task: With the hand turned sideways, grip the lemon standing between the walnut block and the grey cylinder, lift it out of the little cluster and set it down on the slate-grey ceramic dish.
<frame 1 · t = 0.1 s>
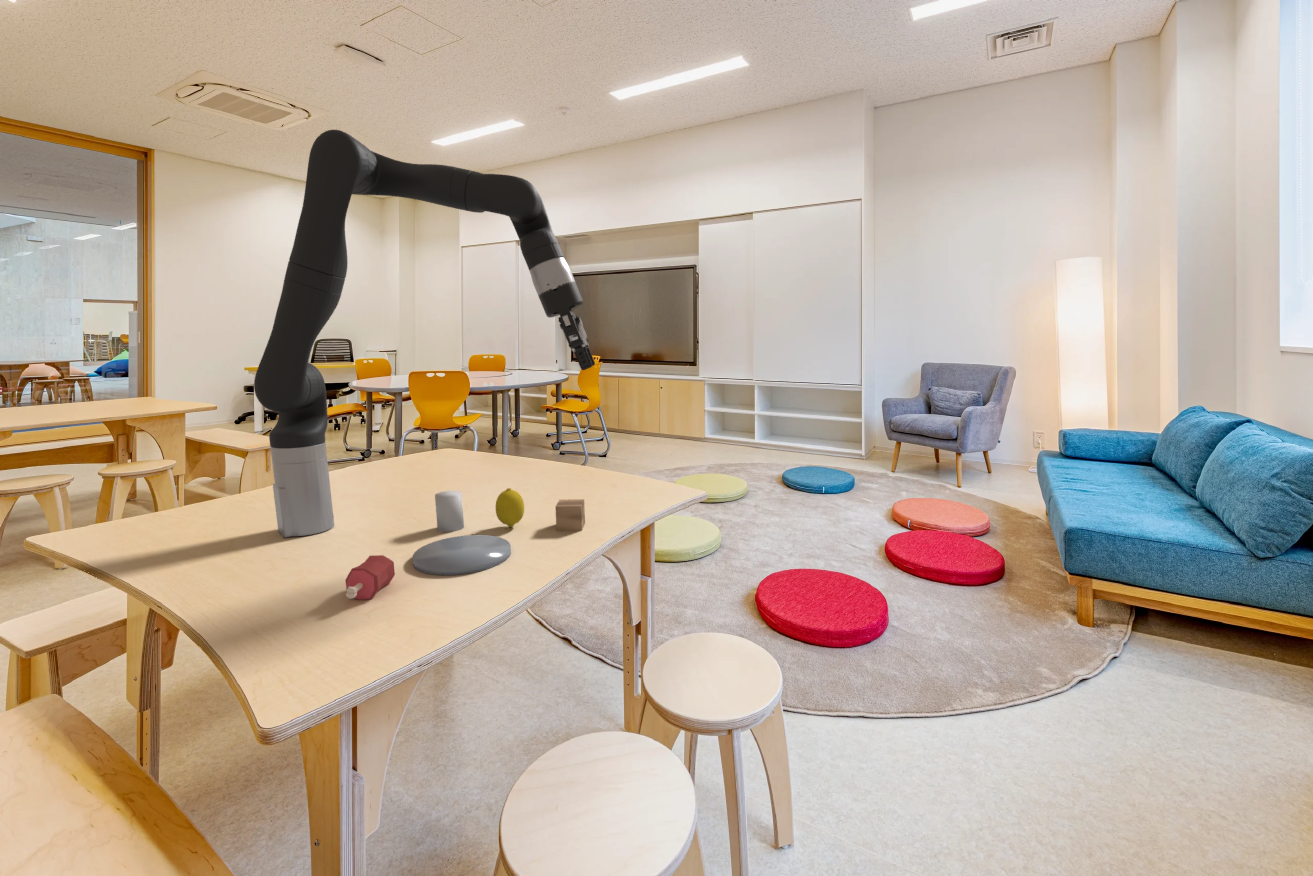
hand: (589, 367, 114), 31 cm above the table, fingers open, 8 cm apart
lemon: (511, 528, 117), on the table
walnut block: (571, 527, 117), on the table
grey cylinder: (450, 528, 117), on the table
slate dish: (463, 556, 102), on the table
meat: (372, 593, 88), on the table
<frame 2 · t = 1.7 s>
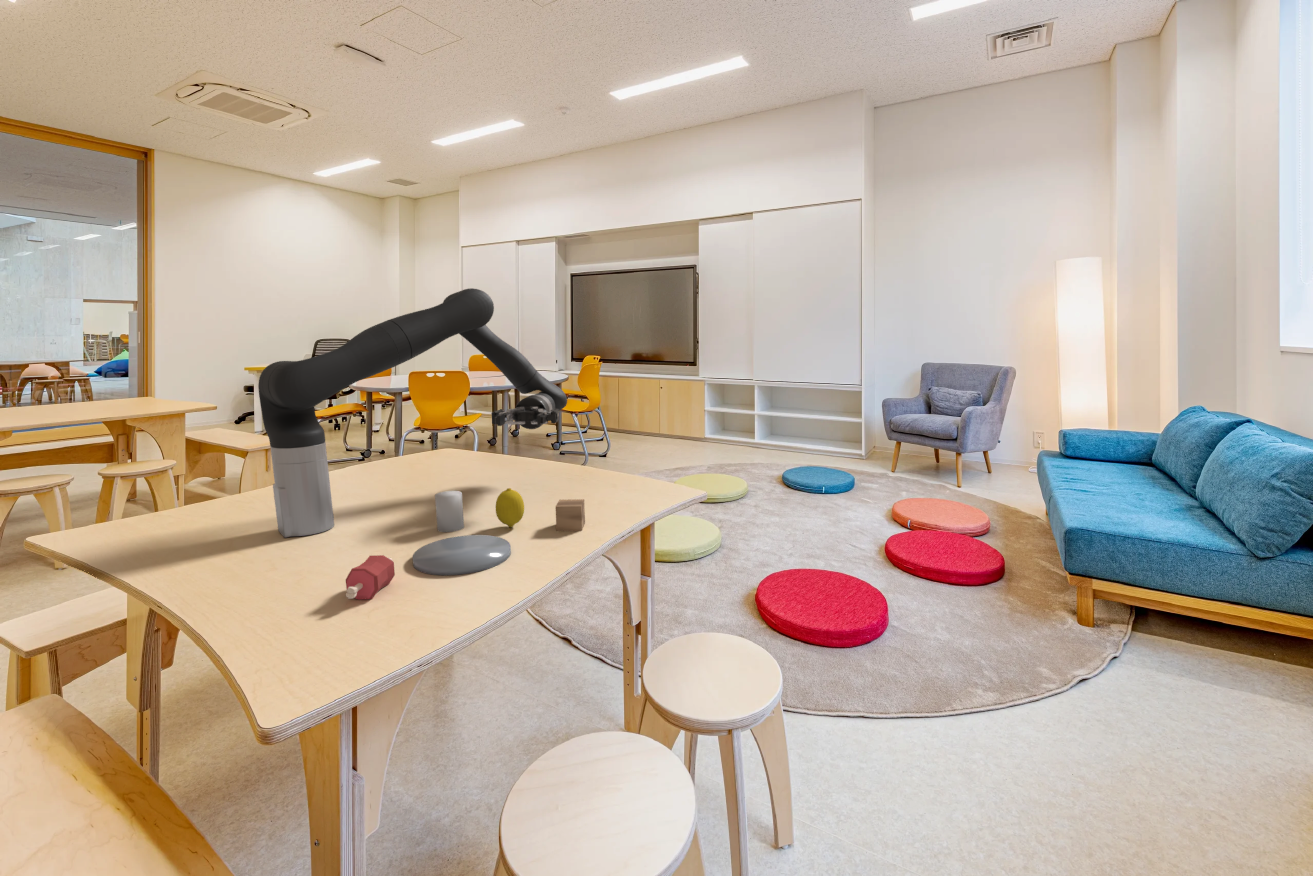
hand: (518, 420, 125), 20 cm above the table, fingers open, 8 cm apart
nothing on the table moved.
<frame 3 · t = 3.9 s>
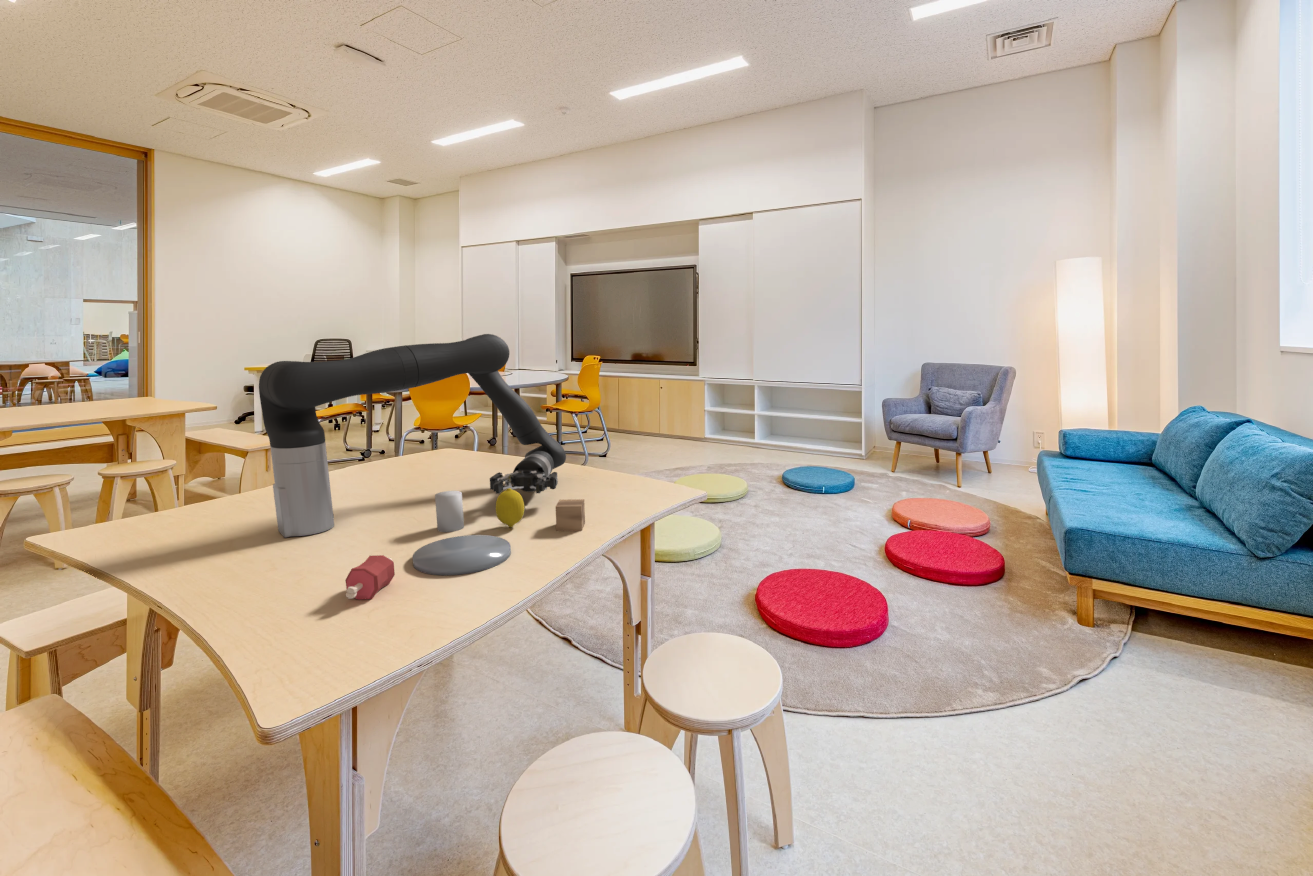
hand: (517, 489, 124), 6 cm above the table, fingers open, 8 cm apart
nothing on the table moved.
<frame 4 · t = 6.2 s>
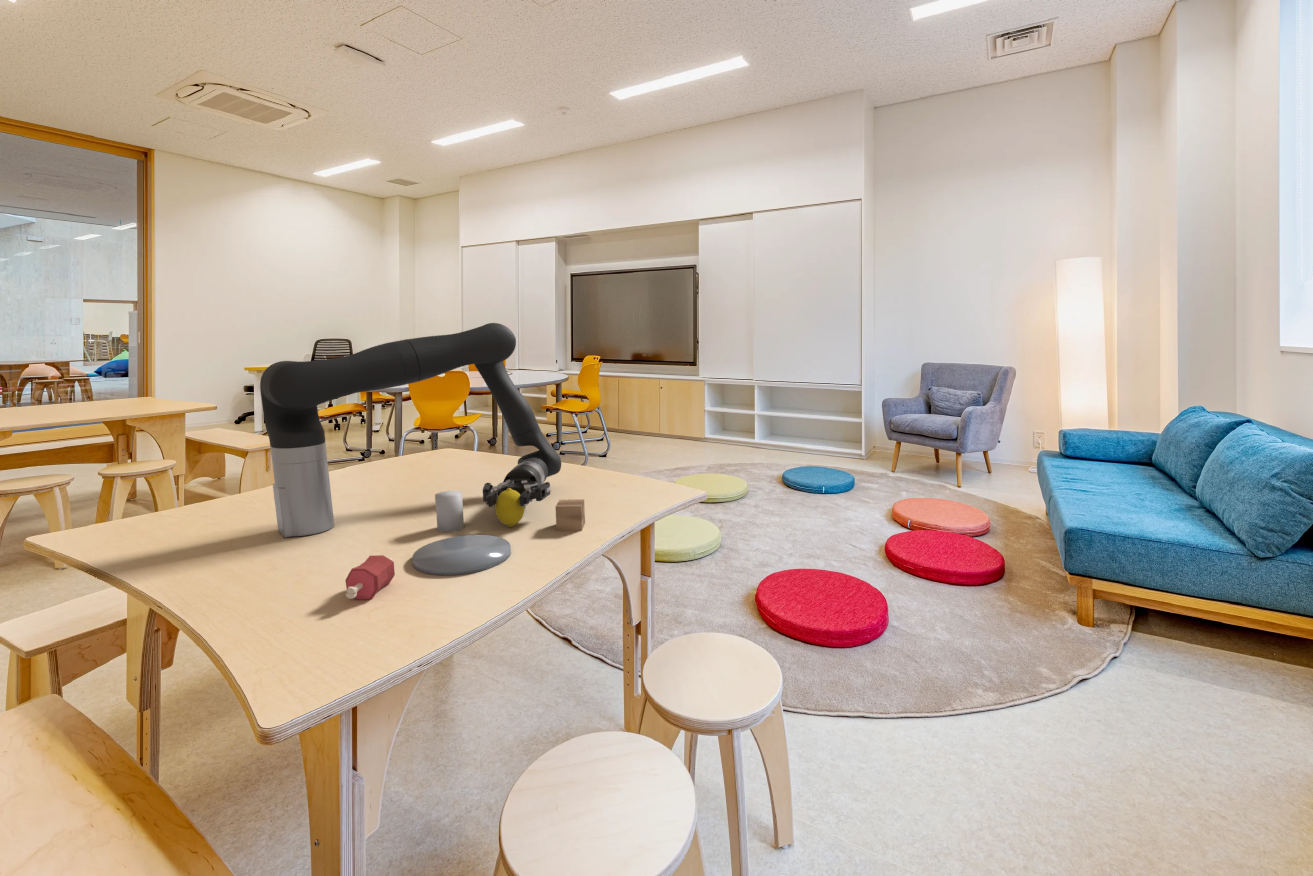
hand: (506, 501, 114), 6 cm above the table, fingers closed on lemon, 5 cm apart
lemon: (511, 528, 117), on the table, touching gripper
everything else where it was.
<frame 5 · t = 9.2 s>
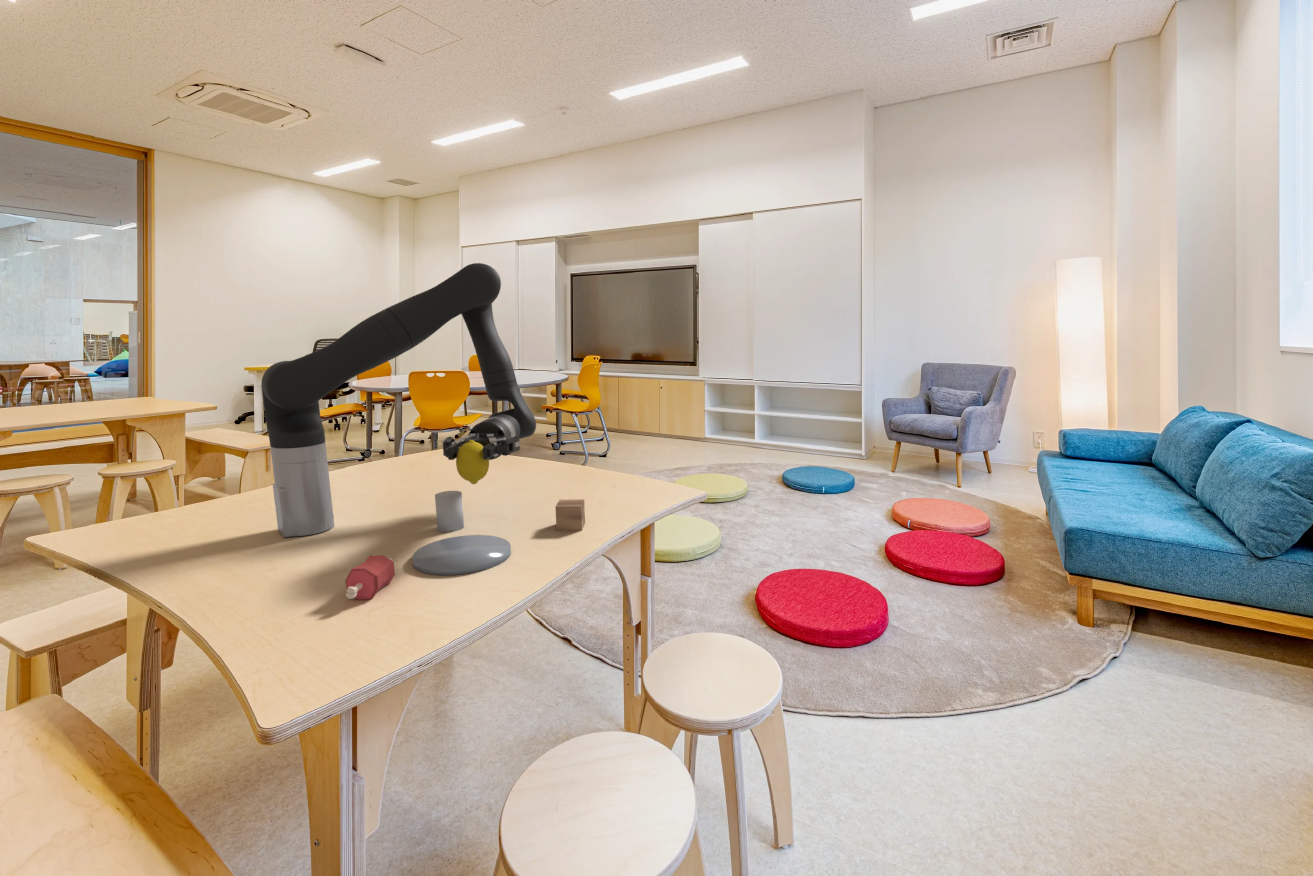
hand: (467, 453, 101), 18 cm above the table, fingers closed on lemon, 5 cm apart
lemon: (474, 485, 104), point 11 cm above the table, touching gripper
everything else where it was.
when the fingers open (8 cm above the table, at t = 12.2 s): lemon drops 1 cm, resting on slate dish.
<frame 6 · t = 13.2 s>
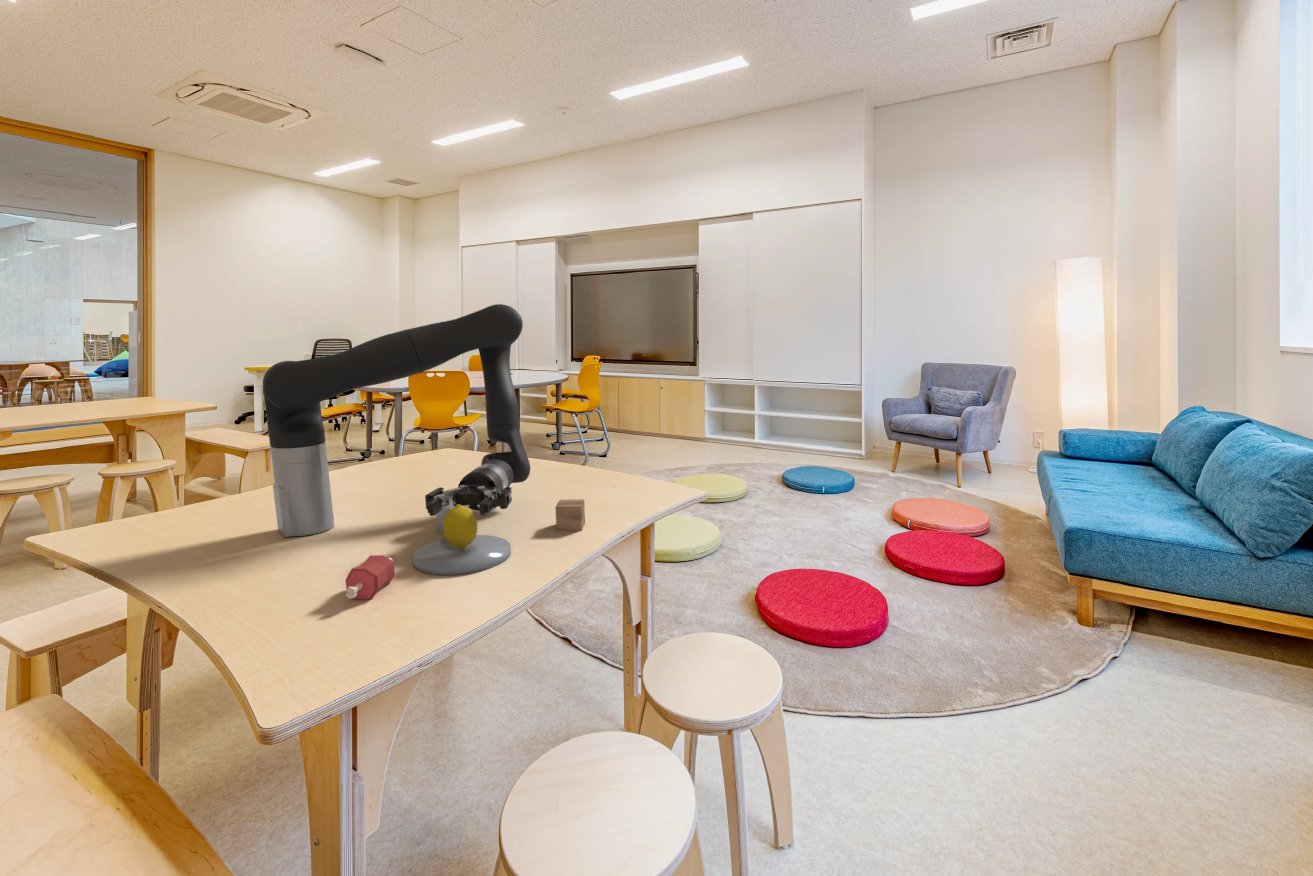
hand: (456, 509, 99), 9 cm above the table, fingers open, 8 cm apart
lemon: (462, 550, 102), point 1 cm above the table, touching slate dish
everything else where it was.
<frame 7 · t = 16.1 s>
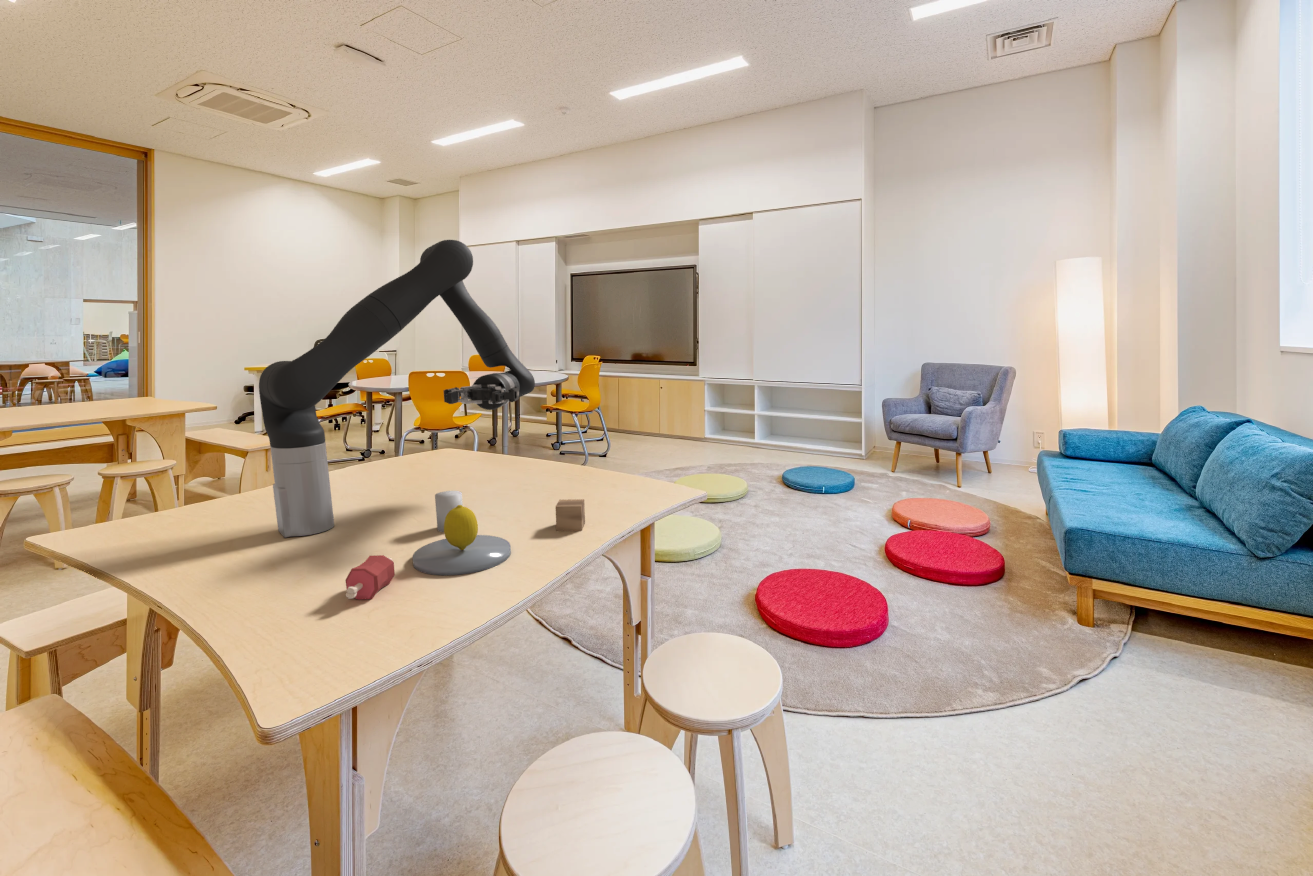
hand: (471, 398, 114), 26 cm above the table, fingers open, 8 cm apart
nothing on the table moved.
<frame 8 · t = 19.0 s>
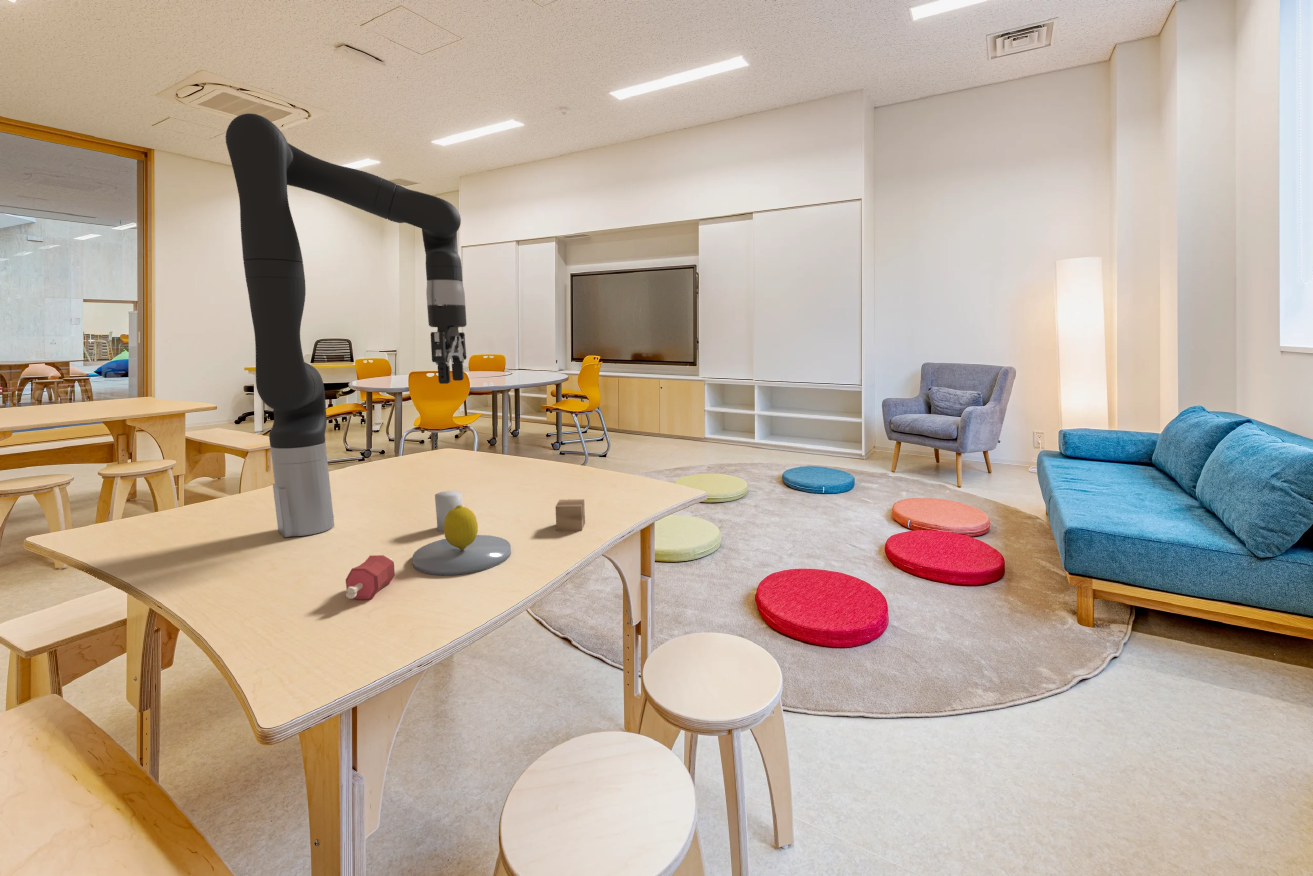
hand: (451, 381, 125), 28 cm above the table, fingers open, 8 cm apart
nothing on the table moved.
at the end: lemon inside the target area on the slate dish (0.2 cm from its centre), point 1.0 cm above the slate dish's base; the gripper is holding nothing; walnut block moved 0.1 cm from its start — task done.
